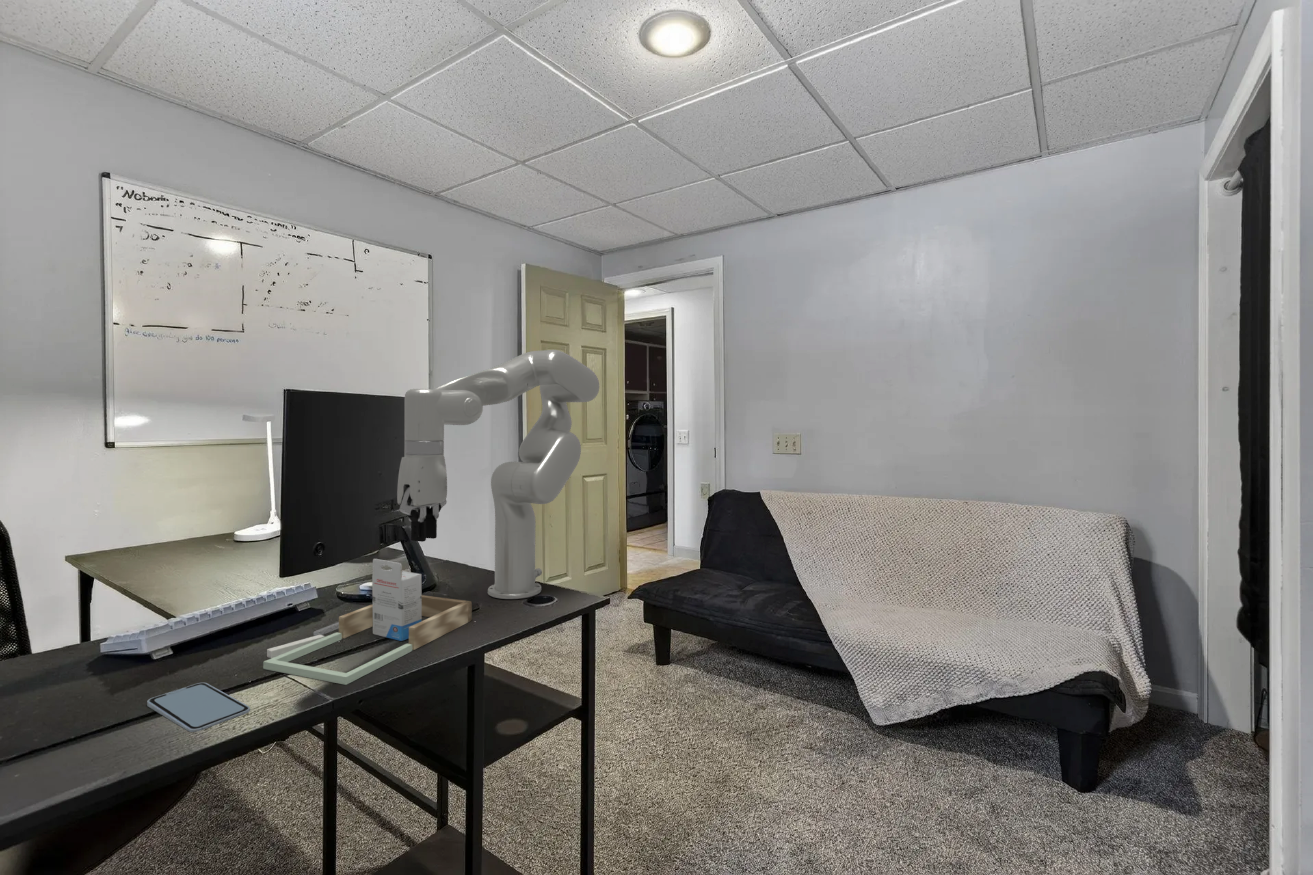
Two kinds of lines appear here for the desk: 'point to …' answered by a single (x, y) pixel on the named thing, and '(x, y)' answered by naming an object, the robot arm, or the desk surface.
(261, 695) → the desk surface
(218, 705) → the smartphone
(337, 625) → the crook tool
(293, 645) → the stick
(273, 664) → the frame
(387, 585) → the ink box
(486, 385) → the robot arm
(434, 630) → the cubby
